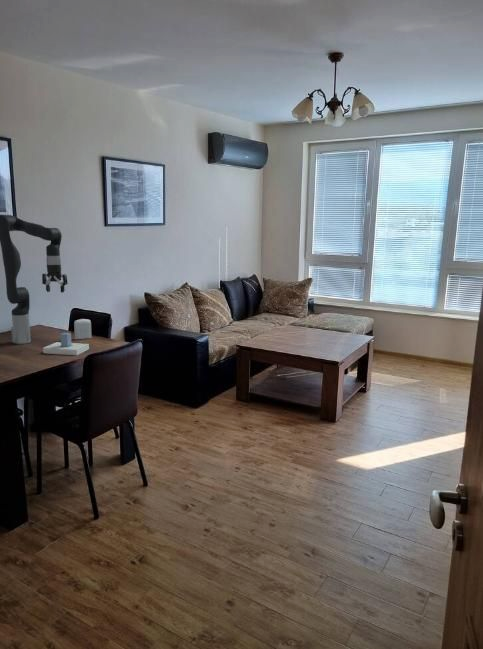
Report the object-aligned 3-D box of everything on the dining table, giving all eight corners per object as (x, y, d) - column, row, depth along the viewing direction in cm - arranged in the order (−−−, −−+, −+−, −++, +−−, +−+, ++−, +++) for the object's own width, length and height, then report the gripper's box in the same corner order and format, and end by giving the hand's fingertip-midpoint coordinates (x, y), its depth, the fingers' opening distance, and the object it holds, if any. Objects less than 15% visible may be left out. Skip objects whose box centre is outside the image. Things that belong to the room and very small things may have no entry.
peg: (61, 349, 268) (60, 334, 266) (65, 348, 272) (64, 332, 270) (68, 350, 267) (67, 334, 266) (71, 348, 271) (70, 333, 270)
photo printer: (90, 336, 306) (89, 317, 303) (92, 338, 302) (91, 319, 300) (73, 338, 300) (72, 319, 297) (75, 340, 296) (74, 320, 294)
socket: (43, 353, 265) (43, 347, 264) (56, 347, 278) (56, 342, 278) (76, 355, 262) (76, 349, 261) (89, 349, 275) (88, 344, 275)
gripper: (38, 263, 268) (40, 292, 271) (61, 264, 266) (63, 293, 269) (45, 262, 275) (47, 290, 279) (68, 263, 273) (70, 291, 276)
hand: (55, 292), depth 274 cm, fingers open, 8 cm apart
